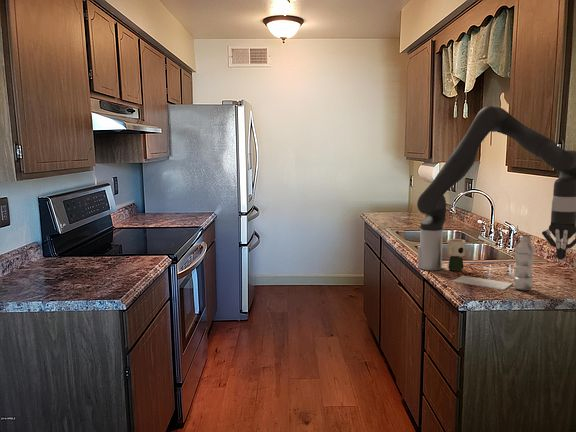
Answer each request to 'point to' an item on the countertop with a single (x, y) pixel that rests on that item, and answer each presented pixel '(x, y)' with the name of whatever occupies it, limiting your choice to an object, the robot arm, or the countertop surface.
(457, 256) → the character mug
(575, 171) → the robot arm
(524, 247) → the plastic bottle
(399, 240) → the countertop surface
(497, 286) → the mat
